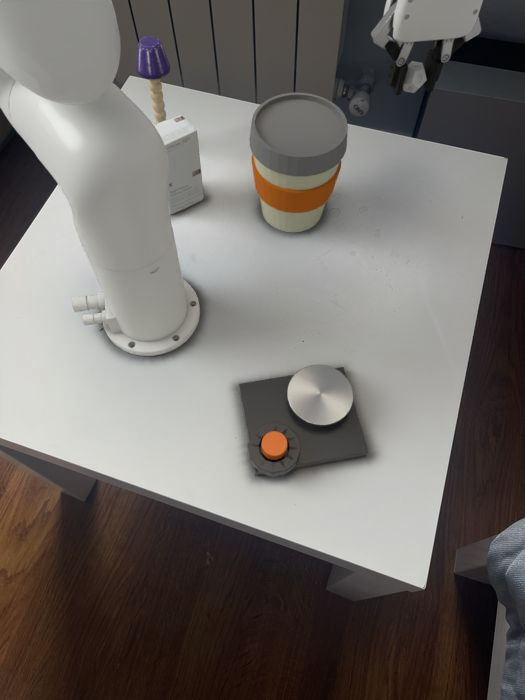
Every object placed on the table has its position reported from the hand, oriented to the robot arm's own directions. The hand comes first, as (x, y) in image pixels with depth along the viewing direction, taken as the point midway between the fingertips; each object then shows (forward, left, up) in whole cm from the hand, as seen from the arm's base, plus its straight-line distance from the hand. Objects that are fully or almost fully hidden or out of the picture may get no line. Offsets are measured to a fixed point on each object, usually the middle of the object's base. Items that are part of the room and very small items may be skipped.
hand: (410, 86), depth 71 cm
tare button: (-26, -41, -12) cm, 50 cm away
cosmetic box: (-32, 0, -15) cm, 35 cm away
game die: (0, 0, 0) cm, 0 cm away
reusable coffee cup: (-16, -5, -15) cm, 23 cm away
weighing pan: (-20, -36, -12) cm, 43 cm away
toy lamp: (-33, +12, -15) cm, 38 cm away
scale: (-22, -38, -15) cm, 46 cm away
